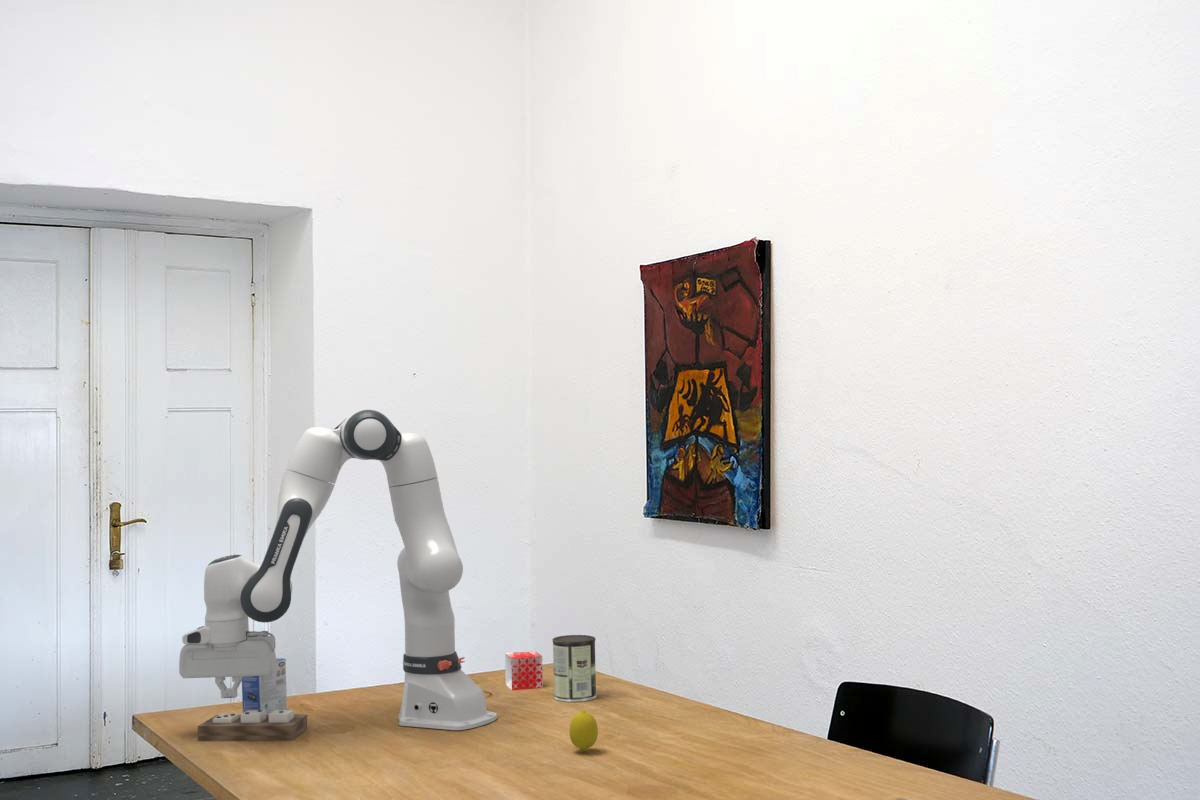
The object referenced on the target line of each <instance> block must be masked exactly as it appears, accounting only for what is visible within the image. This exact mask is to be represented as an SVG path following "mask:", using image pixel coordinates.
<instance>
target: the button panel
mask: <svg viewBox="0 0 1200 800" xmlns="http://www.w3.org/2000/svg"><path fill="white" fill-rule="evenodd" d="M218 715H219V714H216V715H214V716H212V717H210V718H209V719H207V720H206V721H204V722H202V723H201V724H199V725H197V741H198V742H201V741H202V742H203V741H204V742H206V741H207V742H209V741H210V742H211V741H212V742H213V741H214V742H215V741H216V742H217V741H218V742H219V741H220V742H221V741H223V742H226V741H228V742H231V741H238V742H239V741H240V742H243V741H251V742H252V741H293V740H295V739H296V738H297V737H298V736H300V735H301V734H302V733H304V732H305V731H306V730H307V729H308V713H307V714H304V713H303V714H301V713H300V714H295V713H294V719H293V720H291V721H290V722H288V723H269V715H266V719H265V720H264V721H262V722H261V723H241V714H239V719H238V720H236V721H234V722H233V723H213V718H215V717H216V716H218Z"/></svg>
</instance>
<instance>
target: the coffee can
mask: <svg viewBox="0 0 1200 800" xmlns="http://www.w3.org/2000/svg"><path fill="white" fill-rule="evenodd" d="M551 641H552V647H553V648H552V652H553V653H552V654H553V657H552V658H553V699H554V700H555V701H559V702H565V703H581V702H582V703H583V702H589V701H593V700H595V699H597V682H596V681H597V680H596V671H597V670H596V637H595V636H593V635H586V634H569V635H567V634H566V635H559V636H556V637H553V638H552V640H551Z"/></svg>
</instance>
